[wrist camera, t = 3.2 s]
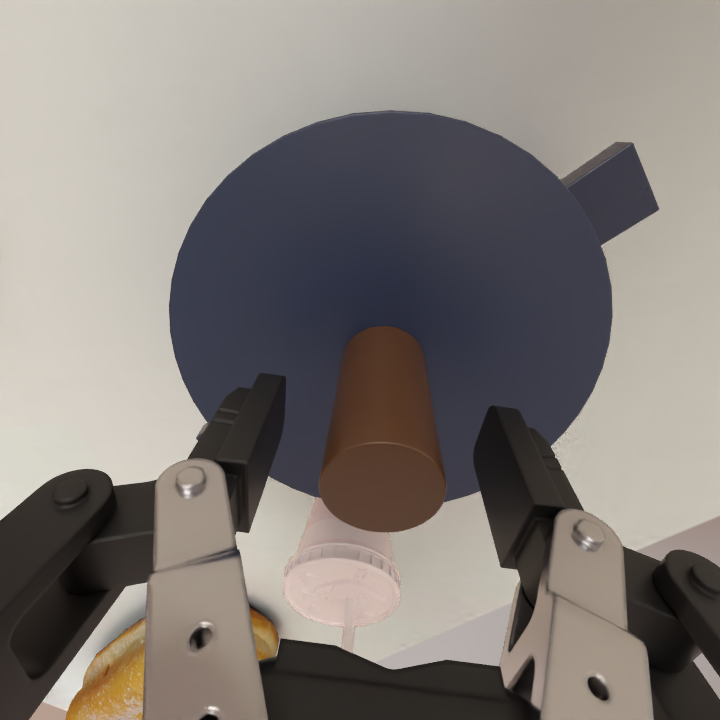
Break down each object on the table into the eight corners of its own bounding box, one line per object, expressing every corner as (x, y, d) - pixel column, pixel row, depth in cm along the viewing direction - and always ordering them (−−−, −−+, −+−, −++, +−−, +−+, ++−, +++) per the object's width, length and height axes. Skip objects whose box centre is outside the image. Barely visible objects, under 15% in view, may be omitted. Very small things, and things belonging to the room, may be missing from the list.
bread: (79, 657, 47) (27, 746, 41) (185, 561, 37) (139, 661, 30) (179, 696, 51) (146, 783, 44) (301, 620, 41) (284, 720, 34)
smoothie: (394, 496, 31) (399, 732, 19) (312, 492, 31) (265, 721, 19) (399, 432, 28) (410, 666, 16) (308, 428, 28) (248, 655, 16)
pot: (170, 282, 23) (70, 353, 16) (477, 3, 16) (553, -105, 9) (330, 441, 28) (311, 549, 21) (611, 279, 22) (728, 356, 14)
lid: (100, 307, 15) (-95, 427, 9) (452, -35, 10) (563, -309, 4) (350, 529, 21) (335, 696, 15) (659, 386, 16) (839, 553, 9)
